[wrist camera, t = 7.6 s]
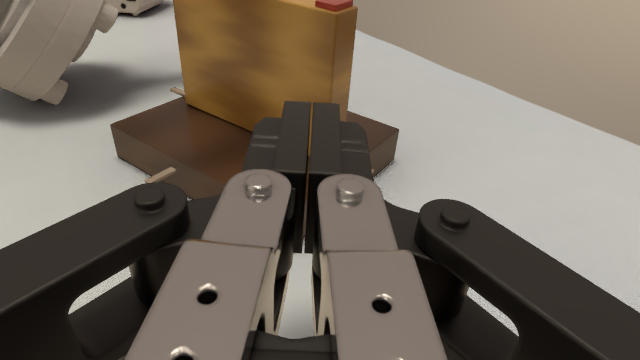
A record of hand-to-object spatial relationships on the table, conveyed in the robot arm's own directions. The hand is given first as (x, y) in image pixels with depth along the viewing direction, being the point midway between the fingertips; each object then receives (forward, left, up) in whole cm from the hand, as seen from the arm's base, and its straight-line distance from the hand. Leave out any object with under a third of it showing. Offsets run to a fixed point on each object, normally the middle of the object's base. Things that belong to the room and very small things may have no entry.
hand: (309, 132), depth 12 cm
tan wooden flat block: (+4, +10, -5) cm, 12 cm away
